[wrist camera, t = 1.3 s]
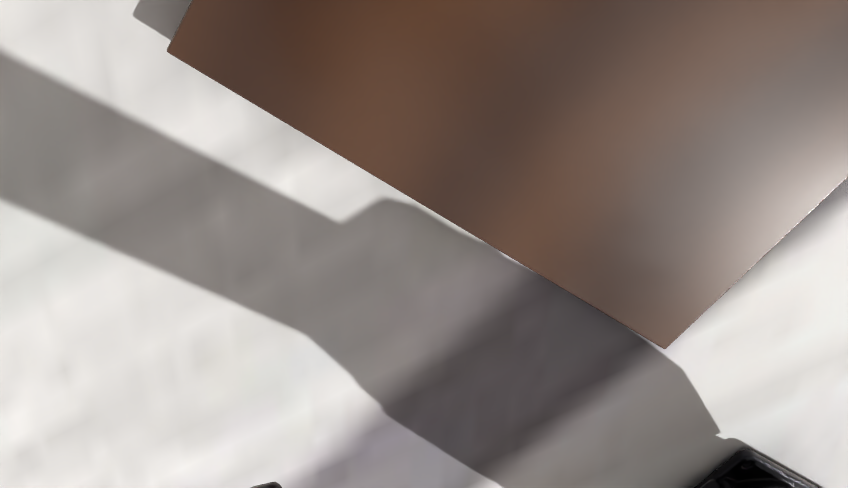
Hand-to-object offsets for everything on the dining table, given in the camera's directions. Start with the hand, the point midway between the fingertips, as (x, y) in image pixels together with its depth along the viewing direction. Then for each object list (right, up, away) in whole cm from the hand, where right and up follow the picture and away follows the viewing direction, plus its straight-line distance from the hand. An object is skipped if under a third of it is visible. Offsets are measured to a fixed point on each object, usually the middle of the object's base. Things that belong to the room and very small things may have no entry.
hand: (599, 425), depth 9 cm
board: (+2, +8, +11) cm, 14 cm away
